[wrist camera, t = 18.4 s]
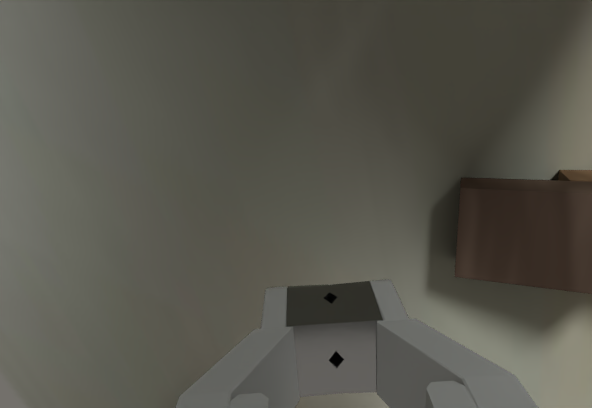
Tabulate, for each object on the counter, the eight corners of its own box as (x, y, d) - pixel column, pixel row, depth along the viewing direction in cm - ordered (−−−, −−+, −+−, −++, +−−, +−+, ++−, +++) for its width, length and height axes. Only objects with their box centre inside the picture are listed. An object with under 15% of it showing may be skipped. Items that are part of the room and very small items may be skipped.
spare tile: (454, 276, 21) (698, 307, 17) (460, 188, 19) (729, 199, 16) (455, 259, 23) (675, 283, 19) (461, 177, 21) (701, 184, 17)
